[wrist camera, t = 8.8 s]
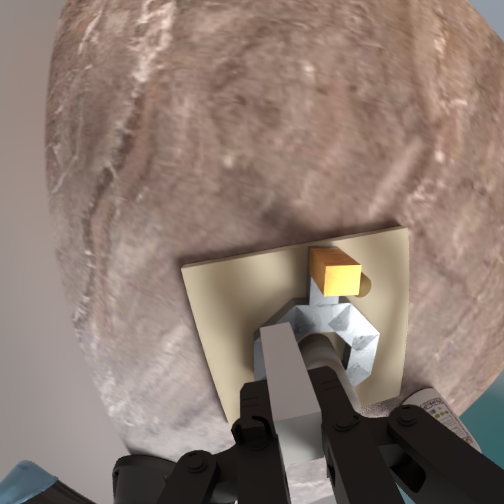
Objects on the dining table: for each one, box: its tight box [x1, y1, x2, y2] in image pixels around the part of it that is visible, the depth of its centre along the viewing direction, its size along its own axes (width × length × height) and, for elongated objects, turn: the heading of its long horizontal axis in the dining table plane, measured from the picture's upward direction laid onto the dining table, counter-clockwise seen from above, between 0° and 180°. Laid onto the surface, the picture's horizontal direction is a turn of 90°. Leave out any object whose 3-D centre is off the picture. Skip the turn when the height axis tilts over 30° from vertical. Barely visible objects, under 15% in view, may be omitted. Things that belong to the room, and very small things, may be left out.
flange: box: [254, 246, 380, 388], centre depth 22 cm, size 16×11×6 cm
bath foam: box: [402, 388, 481, 453], centre depth 20 cm, size 7×7×20 cm
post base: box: [181, 226, 409, 428], centre depth 22 cm, size 20×20×10 cm
